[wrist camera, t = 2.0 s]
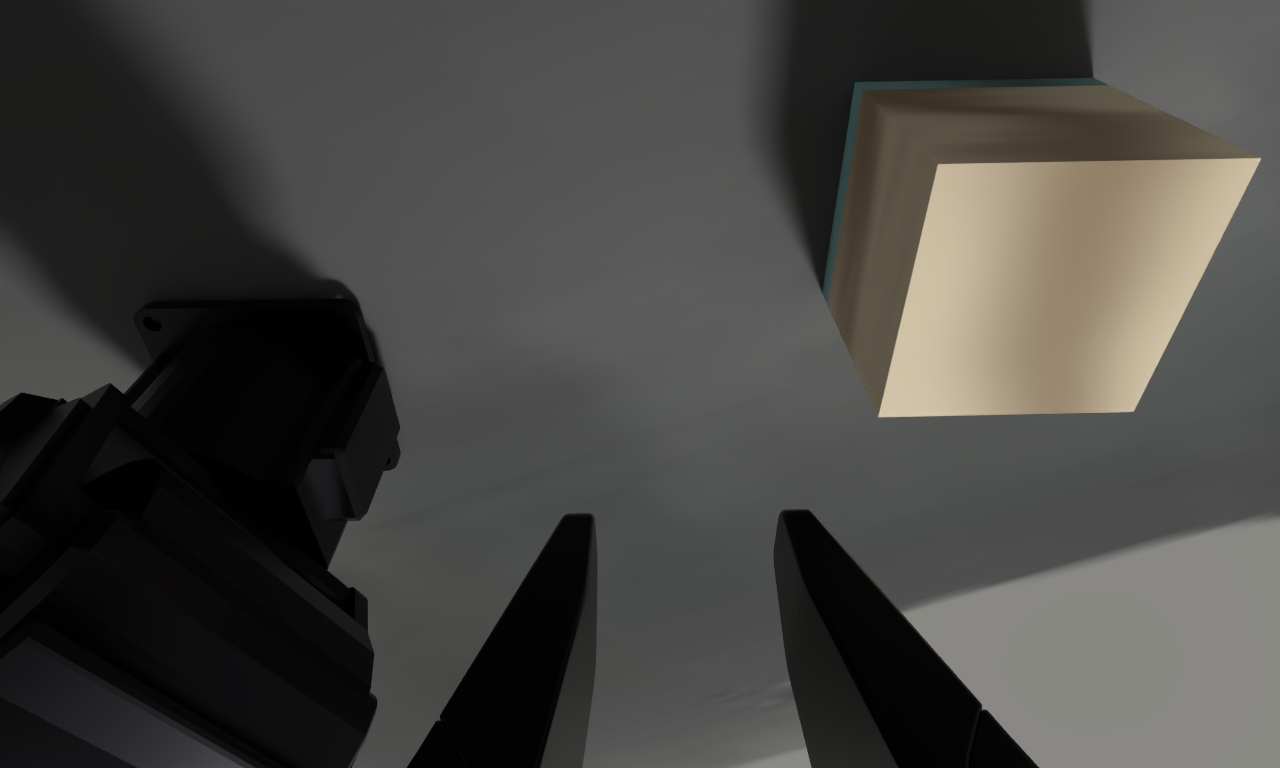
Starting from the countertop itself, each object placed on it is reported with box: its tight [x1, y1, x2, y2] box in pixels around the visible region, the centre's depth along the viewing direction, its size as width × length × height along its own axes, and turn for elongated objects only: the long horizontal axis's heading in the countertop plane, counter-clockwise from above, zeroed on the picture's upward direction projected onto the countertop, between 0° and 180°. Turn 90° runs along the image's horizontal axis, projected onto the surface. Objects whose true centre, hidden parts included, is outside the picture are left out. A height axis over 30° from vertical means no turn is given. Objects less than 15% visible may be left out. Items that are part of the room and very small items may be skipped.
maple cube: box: [822, 78, 1261, 417], centre depth 17 cm, size 6×6×6 cm
